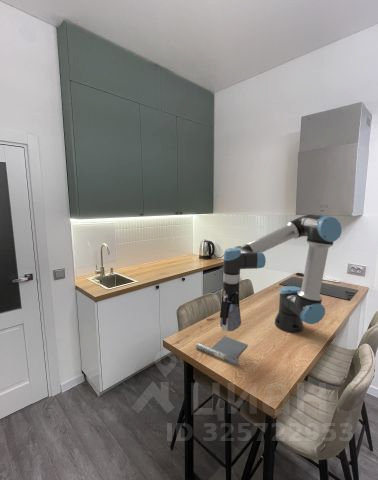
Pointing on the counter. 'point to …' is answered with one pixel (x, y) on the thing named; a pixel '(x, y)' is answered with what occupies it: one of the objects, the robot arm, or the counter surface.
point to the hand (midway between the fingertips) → (229, 326)
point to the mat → (229, 347)
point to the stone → (233, 317)
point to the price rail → (217, 354)
